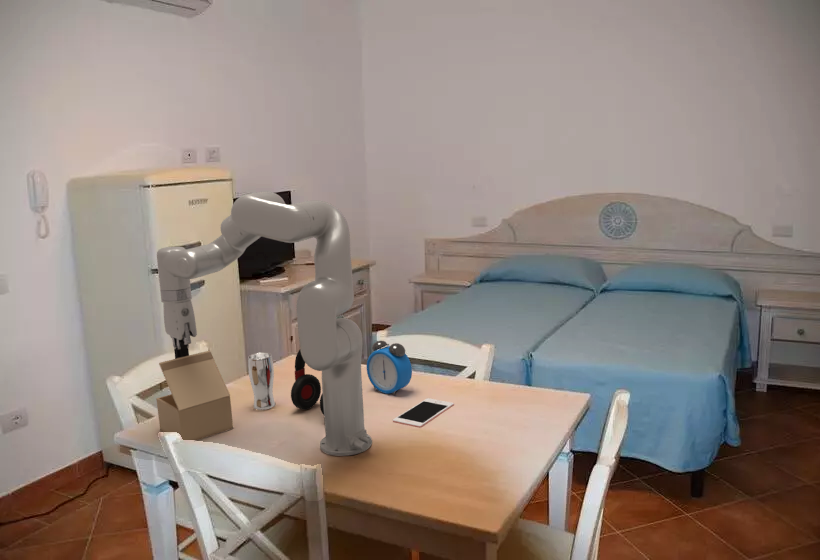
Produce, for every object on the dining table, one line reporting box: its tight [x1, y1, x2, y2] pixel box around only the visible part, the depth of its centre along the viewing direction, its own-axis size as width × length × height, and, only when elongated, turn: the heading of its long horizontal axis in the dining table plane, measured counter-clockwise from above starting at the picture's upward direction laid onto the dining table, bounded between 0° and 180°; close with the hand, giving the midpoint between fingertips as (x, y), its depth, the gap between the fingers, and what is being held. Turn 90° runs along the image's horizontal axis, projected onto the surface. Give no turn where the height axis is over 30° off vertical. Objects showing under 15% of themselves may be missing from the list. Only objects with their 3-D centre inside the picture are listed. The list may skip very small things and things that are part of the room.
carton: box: [155, 393, 234, 441], centre depth 183 cm, size 14×14×9 cm
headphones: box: [290, 349, 324, 416], centre depth 189 cm, size 18×10×20 cm, turn 48°
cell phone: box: [392, 397, 455, 428], centre depth 188 cm, size 9×18×1 cm, turn 147°
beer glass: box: [247, 352, 276, 411], centre depth 197 cm, size 7×7×15 cm
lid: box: [158, 350, 231, 411], centre depth 179 cm, size 14×14×1 cm
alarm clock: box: [366, 340, 413, 396], centre depth 204 cm, size 13×6×15 cm, turn 51°
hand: (182, 362), depth 184 cm, fingers closed
